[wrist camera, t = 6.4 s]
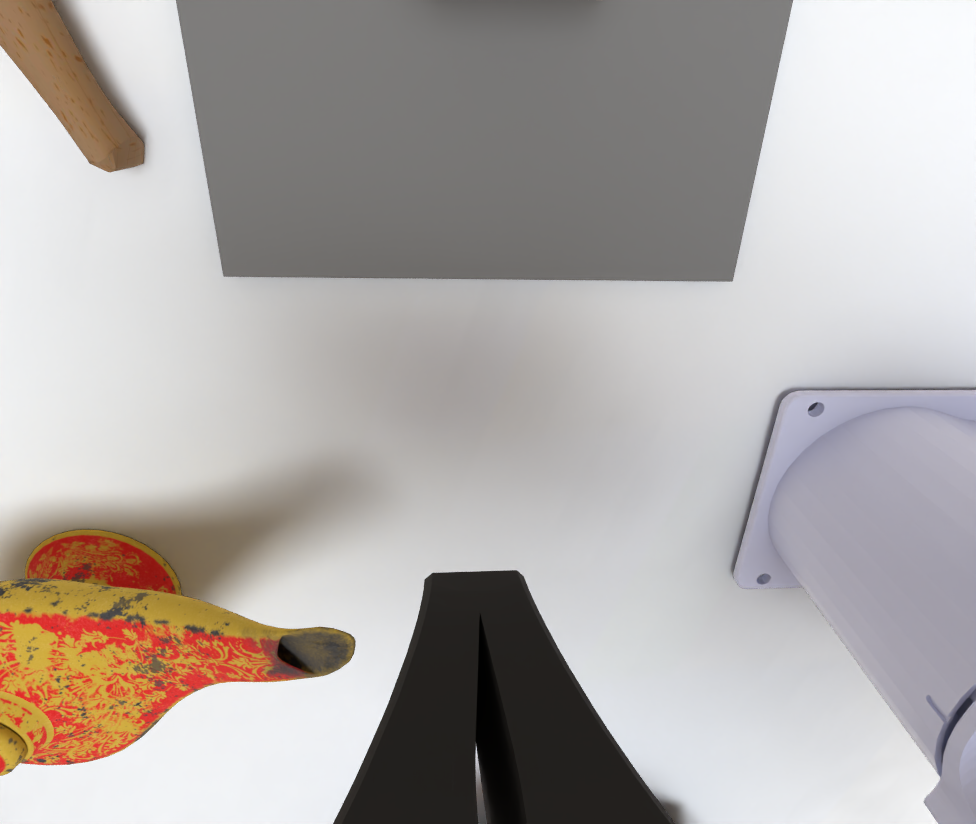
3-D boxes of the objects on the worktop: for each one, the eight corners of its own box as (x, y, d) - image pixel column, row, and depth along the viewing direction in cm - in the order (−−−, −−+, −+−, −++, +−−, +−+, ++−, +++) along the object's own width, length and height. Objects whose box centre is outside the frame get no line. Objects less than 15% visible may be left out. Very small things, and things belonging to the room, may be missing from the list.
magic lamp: (424, 552, 22) (409, 927, 12) (4, 709, 24) (-295, 1132, 14) (327, 393, 19) (201, 724, 9) (-145, 590, 21) (-656, 1027, 11)
